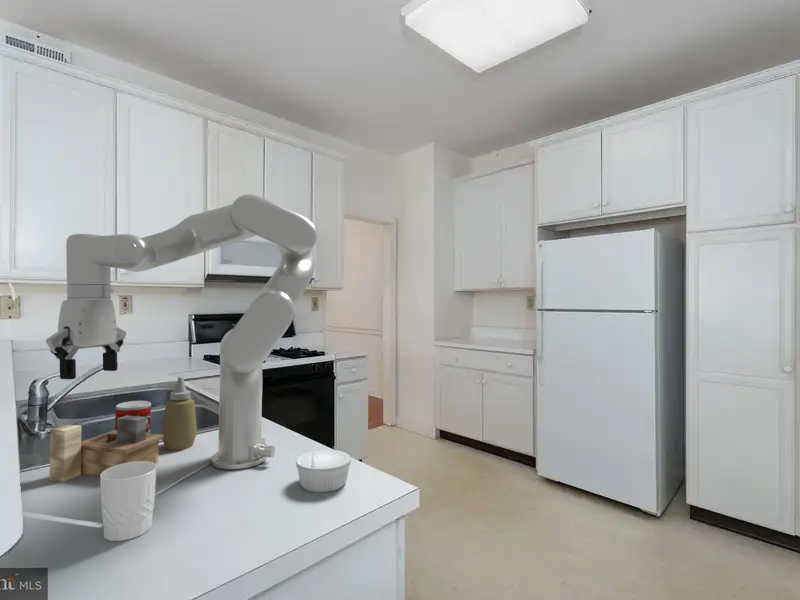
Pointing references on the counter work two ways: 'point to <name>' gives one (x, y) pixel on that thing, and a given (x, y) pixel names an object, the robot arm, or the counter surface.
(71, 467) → the wooden block
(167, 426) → the squeeze bottle
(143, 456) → the toolbox
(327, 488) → the ramekin
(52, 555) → the counter surface
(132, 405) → the canned food
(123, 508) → the white cup
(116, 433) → the wooden frame
